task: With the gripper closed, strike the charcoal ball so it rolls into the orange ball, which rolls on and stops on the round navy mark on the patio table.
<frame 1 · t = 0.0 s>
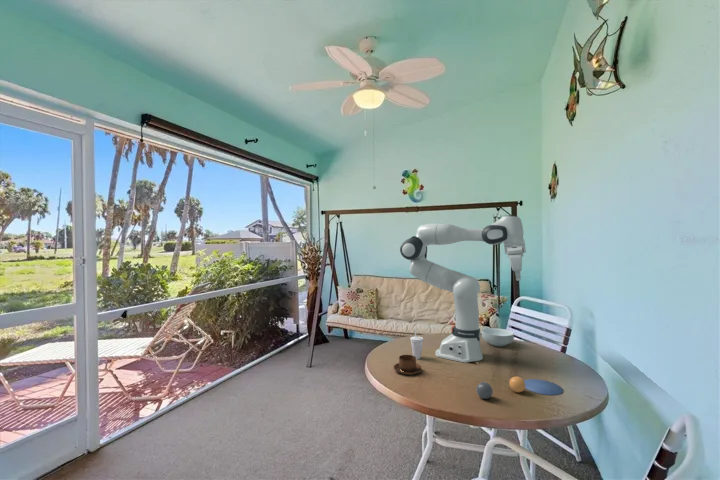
hand: (518, 279, 156), 39 cm above the table, tool pointing down, fingers open, 8 cm apart
smoothie: (416, 358, 164), on the table
cup and saucer: (407, 372, 148), on the table
cereal bowl: (497, 344, 185), on the table
orange ball: (517, 384, 126), on the table
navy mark: (541, 387, 130), on the table
charcoal ball: (484, 390, 122), on the table
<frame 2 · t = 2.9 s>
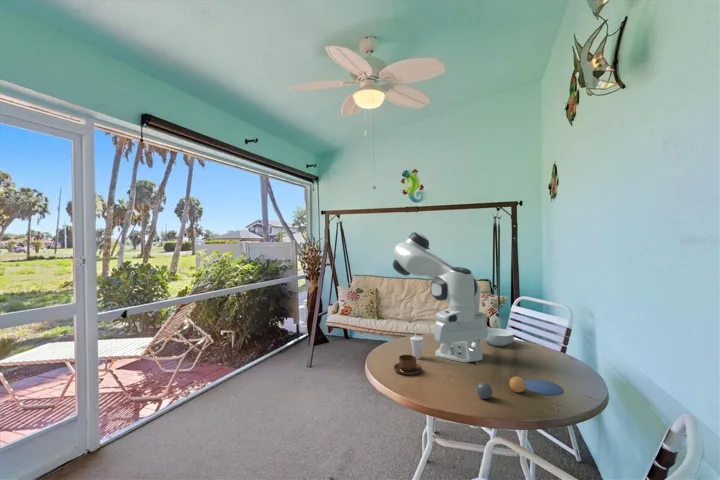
hand: (461, 353, 119), 17 cm above the table, tool pointing down, fingers open, 8 cm apart
nothing on the table moved.
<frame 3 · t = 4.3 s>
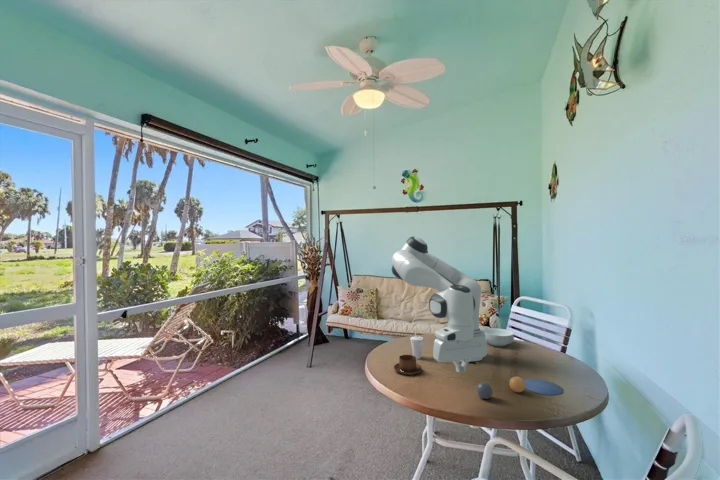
hand: (460, 371, 119), 11 cm above the table, tool pointing down, fingers closed
nothing on the table moved.
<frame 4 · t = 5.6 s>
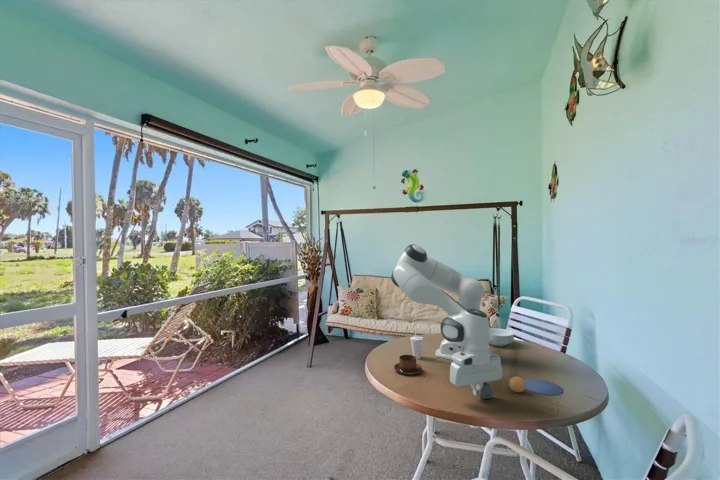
hand: (476, 394, 120), 2 cm above the table, tool pointing down, fingers closed
charcoal ball: (485, 390, 122), on the table, touching gripper
everything else where it was.
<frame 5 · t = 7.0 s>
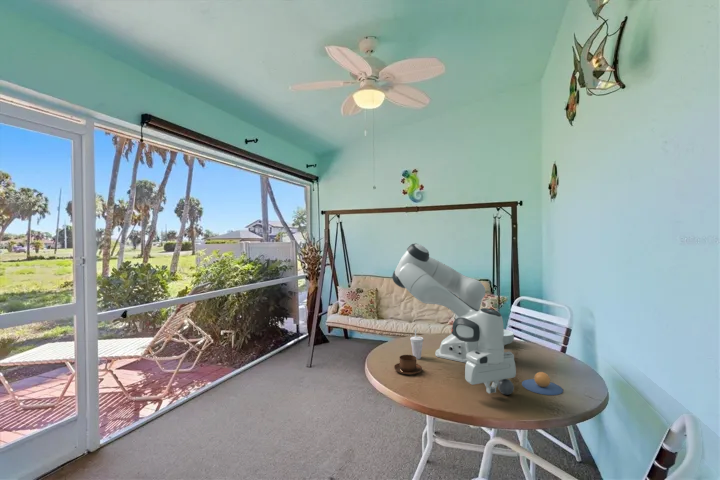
hand: (491, 392, 123), 2 cm above the table, tool pointing down, fingers closed
orange ball: (542, 379, 131), on the table
charcoal ball: (505, 386, 125), on the table
everything else where it was.
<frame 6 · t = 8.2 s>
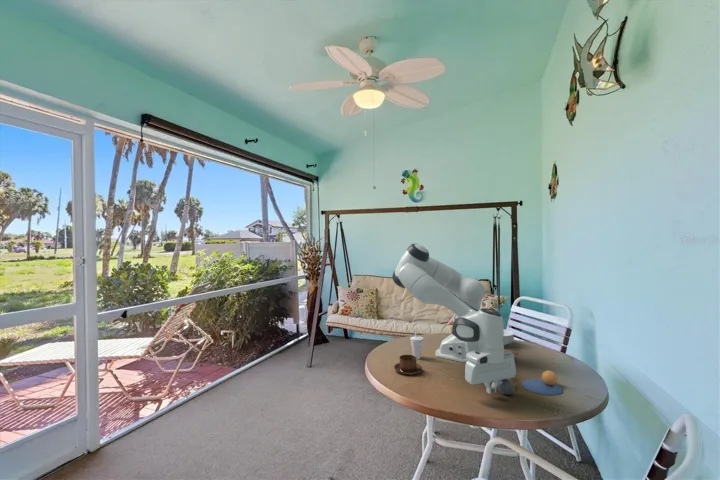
hand: (491, 392, 123), 2 cm above the table, tool pointing down, fingers closed
orange ball: (549, 378, 132), on the table
everything else where it was.
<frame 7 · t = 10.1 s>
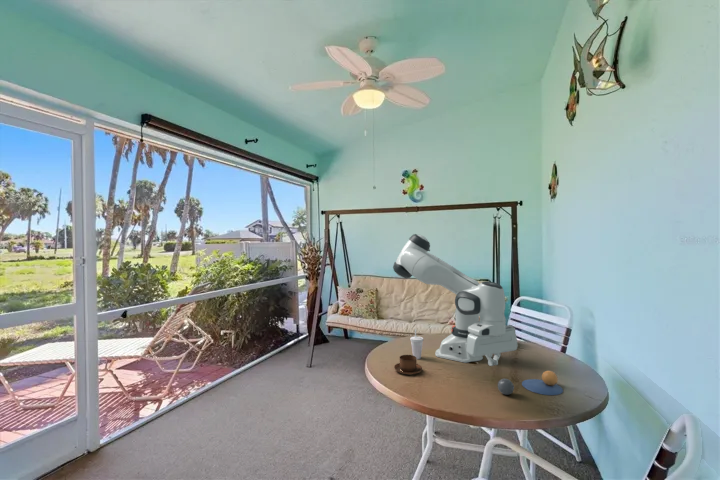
hand: (493, 365, 123), 11 cm above the table, tool pointing down, fingers closed
nothing on the table moved.
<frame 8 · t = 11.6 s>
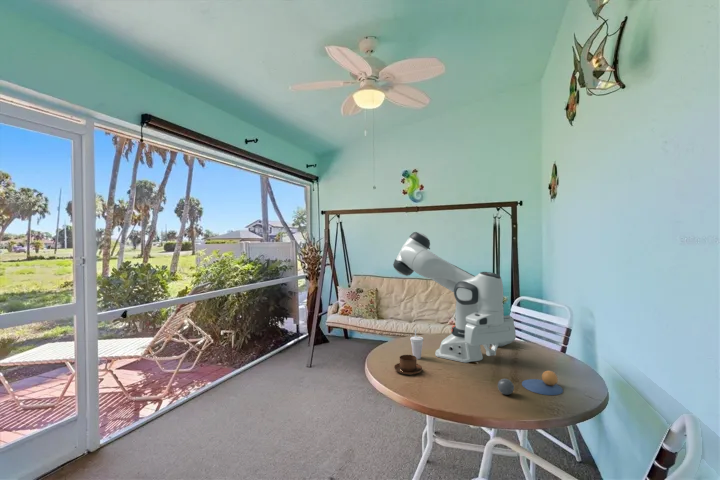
hand: (490, 355, 123), 15 cm above the table, tool pointing down, fingers closed
nothing on the table moved.
at the end: orange ball 4.3 cm from the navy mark (horizontally); orange ball never touched the robot; charcoal ball first touched orange ball at 5.9 s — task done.
